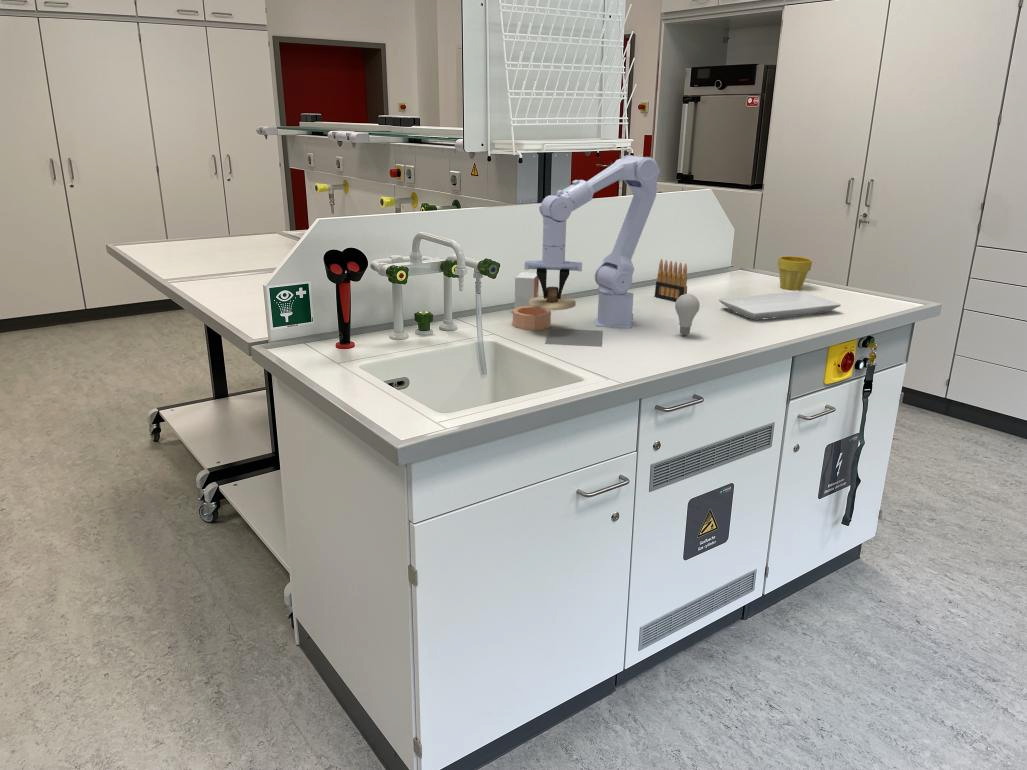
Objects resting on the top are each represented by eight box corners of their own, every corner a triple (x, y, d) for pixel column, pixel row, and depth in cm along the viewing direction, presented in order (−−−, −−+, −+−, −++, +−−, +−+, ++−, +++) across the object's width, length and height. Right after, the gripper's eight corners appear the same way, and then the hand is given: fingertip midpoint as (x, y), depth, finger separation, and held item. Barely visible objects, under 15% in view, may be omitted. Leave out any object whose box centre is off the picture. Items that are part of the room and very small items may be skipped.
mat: (602, 331, 199) (602, 330, 198) (602, 347, 186) (602, 346, 185) (549, 329, 200) (549, 328, 200) (544, 344, 187) (544, 343, 187)
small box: (533, 315, 214) (534, 278, 210) (514, 314, 215) (514, 277, 211) (538, 308, 221) (539, 272, 217) (519, 307, 222) (520, 271, 218)
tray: (841, 315, 220) (843, 303, 218) (752, 324, 209) (753, 312, 207) (800, 301, 234) (802, 290, 233) (715, 309, 223) (716, 298, 222)
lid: (583, 302, 198) (583, 286, 196) (563, 312, 188) (563, 295, 187) (542, 296, 203) (542, 281, 202) (520, 306, 194) (520, 289, 192)
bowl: (551, 321, 208) (552, 307, 206) (548, 331, 198) (549, 316, 197) (515, 319, 209) (515, 305, 207) (510, 329, 199) (511, 314, 198)
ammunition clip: (686, 302, 230) (690, 263, 226) (682, 303, 228) (686, 264, 224) (657, 296, 237) (660, 258, 233) (654, 297, 236) (657, 258, 232)
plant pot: (812, 287, 251) (816, 258, 248) (801, 293, 244) (806, 262, 240) (781, 283, 257) (785, 254, 254) (770, 288, 250) (773, 258, 246)
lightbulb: (682, 340, 192) (686, 297, 189) (667, 334, 197) (671, 292, 194) (701, 337, 195) (705, 295, 191) (686, 331, 200) (689, 290, 196)
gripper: (582, 243, 194) (580, 295, 199) (526, 241, 195) (525, 293, 200) (583, 247, 187) (580, 301, 192) (524, 246, 188) (523, 299, 193)
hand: (552, 297), depth 195 cm, fingers closed on lid, 3 cm apart
